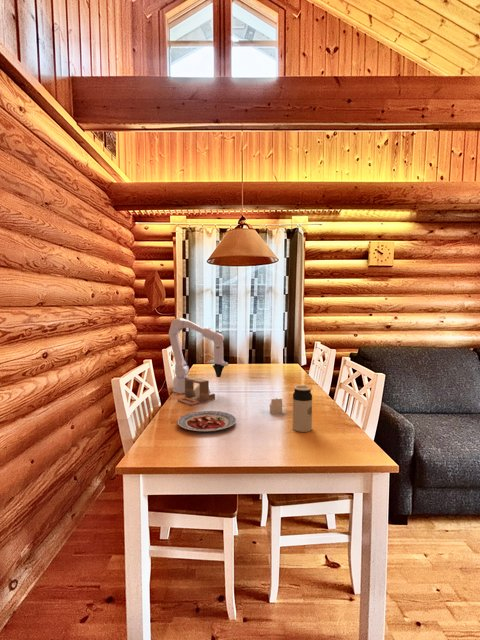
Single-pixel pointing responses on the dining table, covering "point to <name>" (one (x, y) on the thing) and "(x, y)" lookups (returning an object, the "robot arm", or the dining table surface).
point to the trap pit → (188, 401)
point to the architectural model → (276, 406)
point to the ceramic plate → (206, 421)
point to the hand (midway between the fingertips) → (218, 376)
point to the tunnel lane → (203, 389)
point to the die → (198, 391)
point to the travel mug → (302, 408)
